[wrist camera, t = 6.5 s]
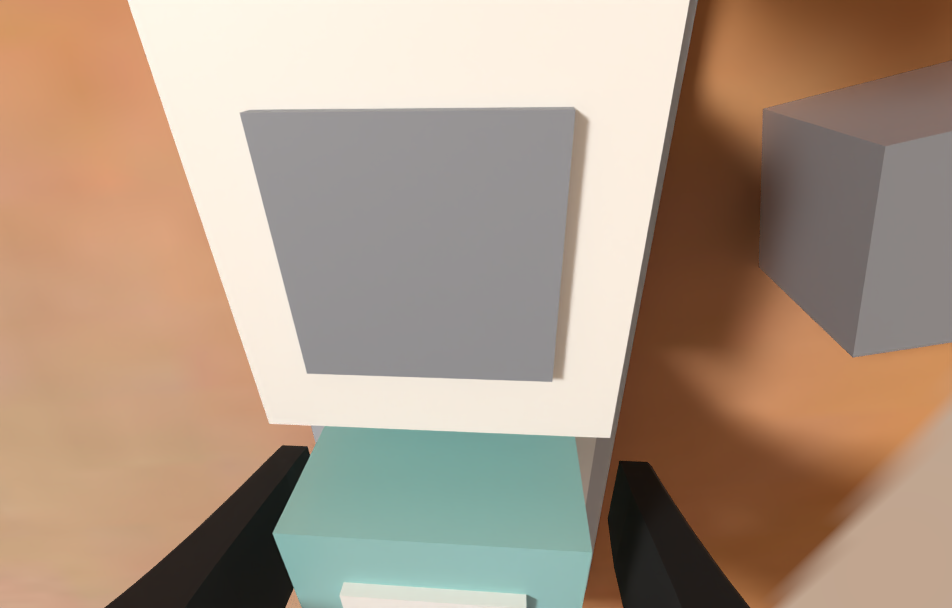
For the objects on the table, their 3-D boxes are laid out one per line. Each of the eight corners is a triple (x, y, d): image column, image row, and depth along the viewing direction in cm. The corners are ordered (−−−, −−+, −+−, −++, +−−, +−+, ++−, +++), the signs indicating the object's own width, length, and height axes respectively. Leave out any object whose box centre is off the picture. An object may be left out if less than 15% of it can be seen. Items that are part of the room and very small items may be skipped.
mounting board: (584, 574, 20) (613, 804, 14) (355, 560, 20) (291, 771, 14) (705, -98, 8) (1127, -392, 3) (191, -78, 9) (-370, -271, 3)
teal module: (542, 444, 15) (562, 730, 9) (407, 438, 15) (334, 710, 9) (554, 298, 12) (594, 567, 6) (388, 294, 13) (266, 547, 6)
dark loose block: (931, 231, 11) (1112, 317, 8) (757, 265, 12) (852, 357, 9) (971, 54, 9) (1231, 66, 6) (761, 108, 10) (885, 145, 7)
